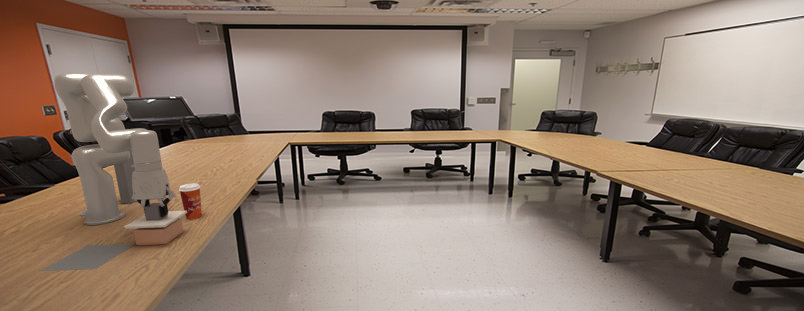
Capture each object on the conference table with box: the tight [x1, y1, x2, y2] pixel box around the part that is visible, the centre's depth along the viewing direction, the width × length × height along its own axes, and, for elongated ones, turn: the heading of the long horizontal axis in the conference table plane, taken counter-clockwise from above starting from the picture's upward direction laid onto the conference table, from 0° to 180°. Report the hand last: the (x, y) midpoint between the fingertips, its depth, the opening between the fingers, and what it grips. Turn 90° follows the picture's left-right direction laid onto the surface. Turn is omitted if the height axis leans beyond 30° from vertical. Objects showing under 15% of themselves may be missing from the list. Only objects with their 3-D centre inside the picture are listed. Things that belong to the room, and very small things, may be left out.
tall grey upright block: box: [113, 151, 137, 205], centre depth 158 cm, size 14×6×25 cm, turn 172°
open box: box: [133, 217, 185, 246], centre depth 116 cm, size 10×10×6 cm
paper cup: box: [178, 182, 203, 220], centre depth 136 cm, size 8×8×14 cm
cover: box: [123, 202, 187, 229], centre depth 115 cm, size 13×13×6 cm
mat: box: [39, 243, 136, 272], centre depth 104 cm, size 16×16×1 cm
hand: (157, 215), depth 115 cm, fingers closed on cover, 4 cm apart
